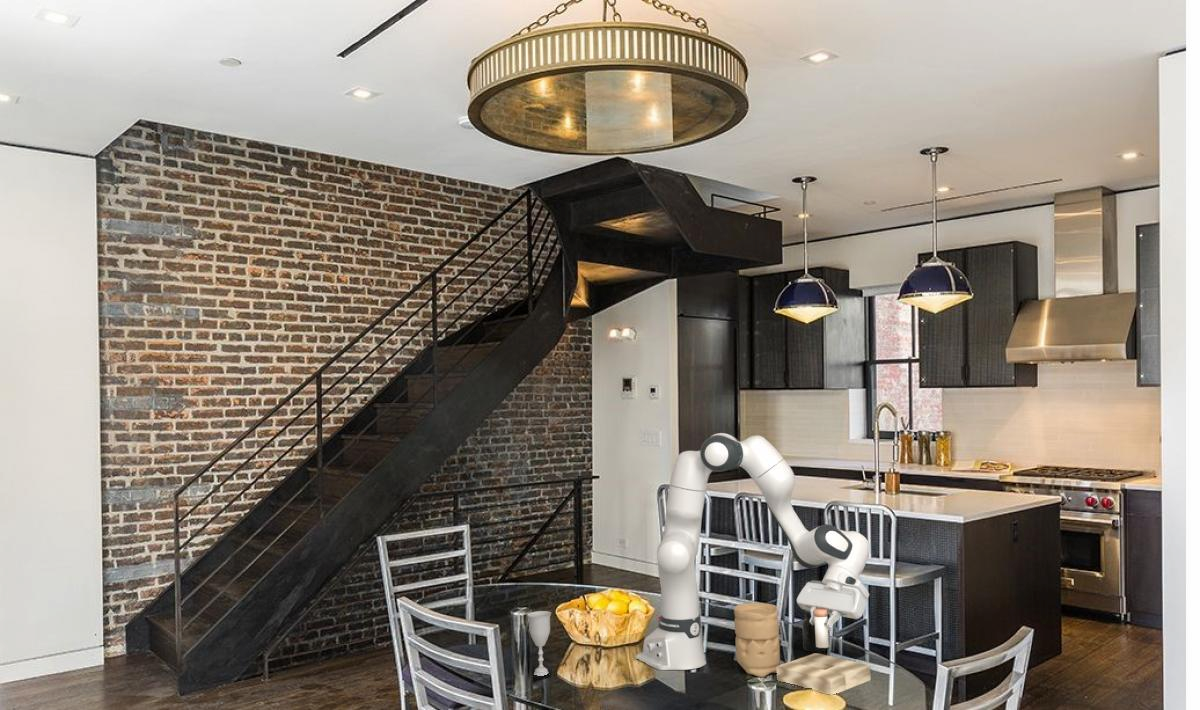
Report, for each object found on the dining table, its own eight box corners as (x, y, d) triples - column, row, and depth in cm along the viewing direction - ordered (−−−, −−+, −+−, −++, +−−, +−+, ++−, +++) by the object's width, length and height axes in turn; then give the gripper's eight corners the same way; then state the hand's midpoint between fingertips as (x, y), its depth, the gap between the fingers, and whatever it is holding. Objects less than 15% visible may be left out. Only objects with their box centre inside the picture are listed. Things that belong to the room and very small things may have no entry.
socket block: (777, 681, 249) (776, 666, 249) (816, 666, 260) (815, 652, 261) (831, 695, 235) (830, 680, 235) (870, 680, 247) (869, 665, 247)
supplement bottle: (826, 653, 274) (824, 613, 274) (803, 652, 275) (801, 613, 276) (825, 647, 280) (823, 608, 281) (803, 646, 282) (801, 608, 282)
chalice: (543, 671, 266) (541, 610, 267) (558, 675, 261) (556, 613, 262) (524, 677, 261) (522, 614, 262) (539, 681, 256) (537, 618, 257)
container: (789, 669, 259) (786, 606, 260) (764, 680, 250) (761, 614, 251) (753, 661, 268) (750, 600, 269) (727, 671, 259) (725, 608, 260)
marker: (813, 646, 248) (811, 609, 249) (820, 643, 251) (818, 607, 251) (823, 648, 246) (821, 611, 246) (831, 646, 248) (829, 609, 249)
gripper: (803, 572, 262) (784, 612, 255) (864, 581, 246) (845, 624, 239) (814, 585, 264) (795, 625, 257) (874, 595, 249) (856, 638, 242)
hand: (819, 625), depth 248 cm, fingers closed on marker, 3 cm apart
